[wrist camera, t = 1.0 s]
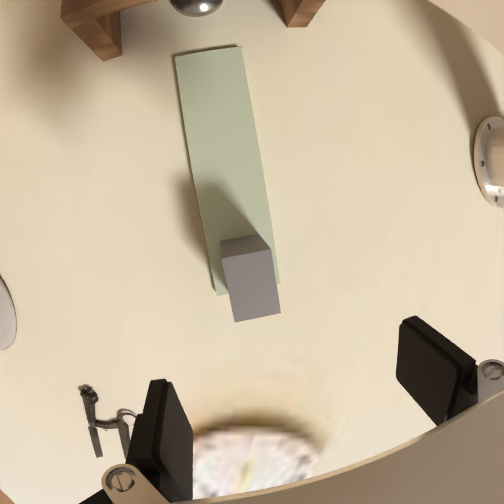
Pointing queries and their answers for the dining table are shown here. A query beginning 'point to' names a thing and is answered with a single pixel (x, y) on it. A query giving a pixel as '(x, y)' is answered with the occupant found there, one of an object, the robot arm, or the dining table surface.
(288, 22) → the bench
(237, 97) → the sage green plank
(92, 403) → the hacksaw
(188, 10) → the steel disc
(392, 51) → the dining table surface
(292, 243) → the dining table surface
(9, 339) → the chalice
